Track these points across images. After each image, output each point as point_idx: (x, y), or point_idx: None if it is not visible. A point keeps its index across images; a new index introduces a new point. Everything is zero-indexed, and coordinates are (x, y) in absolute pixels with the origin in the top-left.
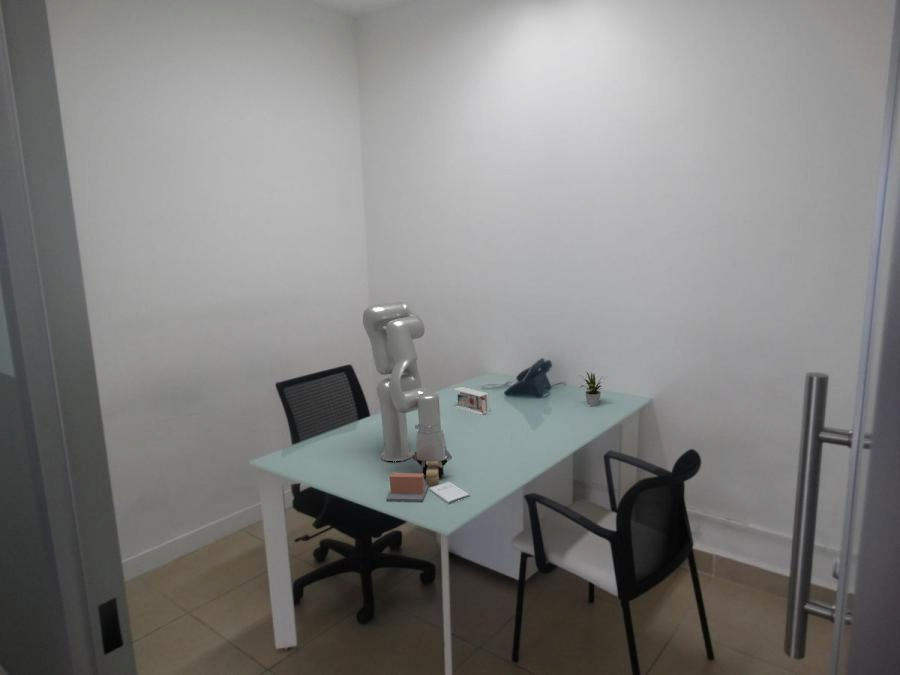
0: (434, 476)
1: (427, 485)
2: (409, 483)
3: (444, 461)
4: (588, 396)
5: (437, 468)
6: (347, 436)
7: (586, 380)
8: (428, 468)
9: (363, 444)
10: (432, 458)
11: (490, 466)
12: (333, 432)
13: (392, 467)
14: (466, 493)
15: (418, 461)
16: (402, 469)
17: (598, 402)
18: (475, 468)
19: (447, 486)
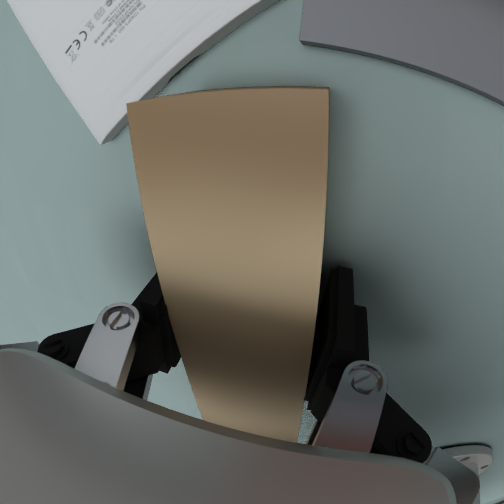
0: (182, 95)
1: (312, 42)
2: None
3: (56, 351)
4: None
5: (175, 311)
6: (488, 498)
7: None
8: (292, 338)
9: (481, 490)
10: (128, 445)
11: (25, 317)
12: (500, 499)
13: (493, 415)
14: None
15: (415, 443)
16: (462, 402)
17: None
18: (59, 322)
19: (98, 40)
